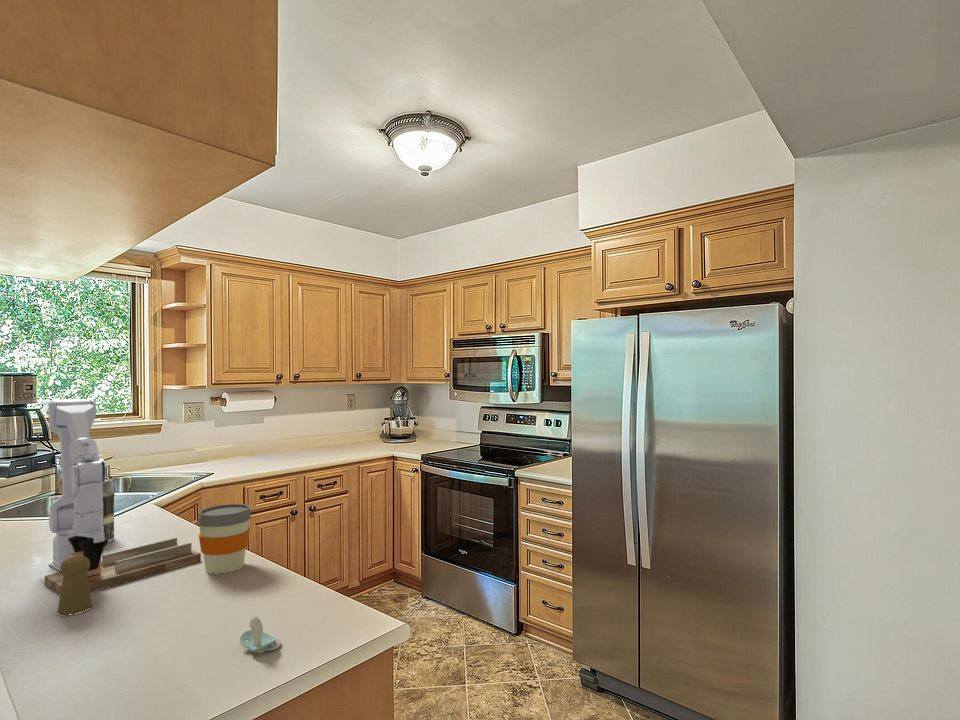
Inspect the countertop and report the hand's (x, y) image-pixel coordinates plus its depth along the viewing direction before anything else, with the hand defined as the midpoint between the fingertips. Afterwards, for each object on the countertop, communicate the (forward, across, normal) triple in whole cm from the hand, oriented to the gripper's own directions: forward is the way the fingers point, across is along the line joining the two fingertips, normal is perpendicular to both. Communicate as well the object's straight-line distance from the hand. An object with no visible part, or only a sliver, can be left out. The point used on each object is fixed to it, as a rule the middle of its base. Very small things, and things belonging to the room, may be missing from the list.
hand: (87, 567), depth 132 cm
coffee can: (+4, -37, +14) cm, 40 cm away
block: (+1, 0, -1) cm, 2 cm away
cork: (+4, +16, -8) cm, 18 cm away
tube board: (+4, 0, +8) cm, 9 cm away
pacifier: (+4, +64, +7) cm, 65 cm away
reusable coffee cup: (+4, +18, +24) cm, 31 cm away
